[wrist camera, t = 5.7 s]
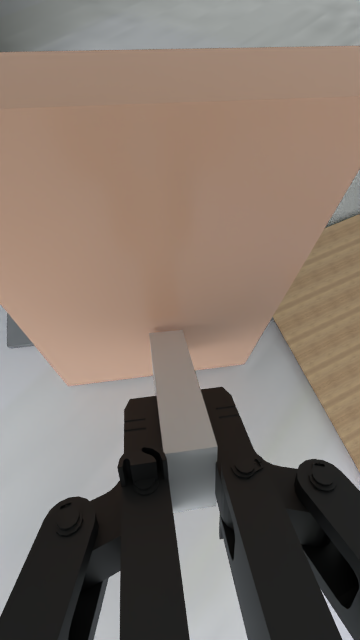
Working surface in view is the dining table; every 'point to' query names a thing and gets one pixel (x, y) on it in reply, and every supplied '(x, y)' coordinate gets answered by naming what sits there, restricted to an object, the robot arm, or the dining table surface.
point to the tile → (166, 195)
